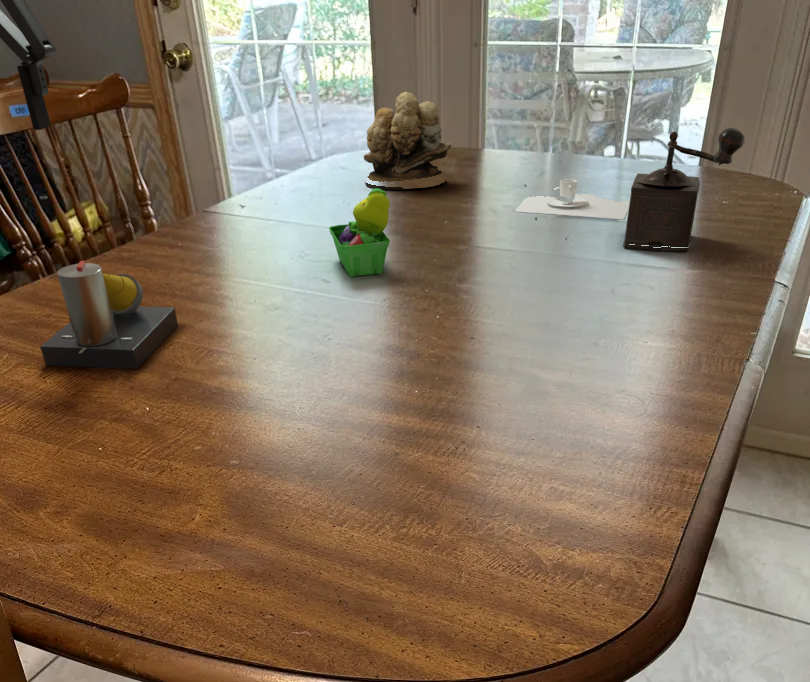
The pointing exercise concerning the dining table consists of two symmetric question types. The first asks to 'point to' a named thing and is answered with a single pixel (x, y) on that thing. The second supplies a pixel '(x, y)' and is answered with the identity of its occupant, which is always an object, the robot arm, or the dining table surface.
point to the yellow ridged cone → (123, 293)
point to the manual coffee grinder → (671, 198)
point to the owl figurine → (405, 142)
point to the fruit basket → (364, 236)
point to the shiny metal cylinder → (87, 303)
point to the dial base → (114, 341)
